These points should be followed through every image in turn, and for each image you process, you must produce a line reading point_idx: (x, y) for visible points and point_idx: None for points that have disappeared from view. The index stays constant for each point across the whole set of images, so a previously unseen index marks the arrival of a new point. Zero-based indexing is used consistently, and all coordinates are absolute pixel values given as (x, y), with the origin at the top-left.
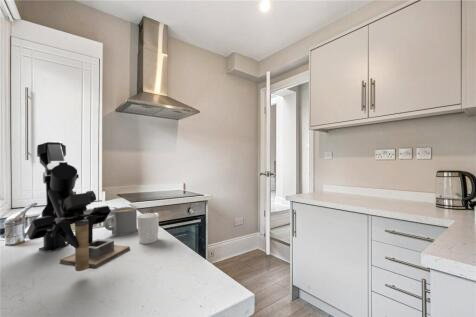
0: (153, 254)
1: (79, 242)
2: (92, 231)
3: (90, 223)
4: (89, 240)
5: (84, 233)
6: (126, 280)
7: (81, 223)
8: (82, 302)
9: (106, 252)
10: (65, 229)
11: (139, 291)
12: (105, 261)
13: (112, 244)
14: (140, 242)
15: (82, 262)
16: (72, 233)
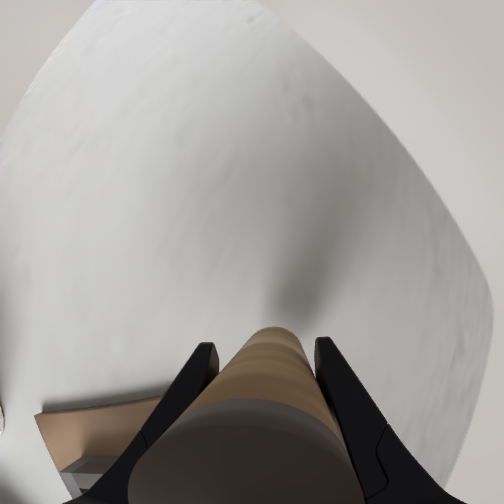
0: (21, 272)
1: (304, 366)
2: (147, 418)
3: (113, 502)
4: (213, 369)
5: (260, 366)
6: (189, 153)
7: (296, 430)
8: (350, 144)
9: (113, 456)
10: (432, 496)
11: (213, 66)
12: (147, 399)
13: (73, 467)
14: (2, 417)
15: (284, 333)
16: (362, 446)
